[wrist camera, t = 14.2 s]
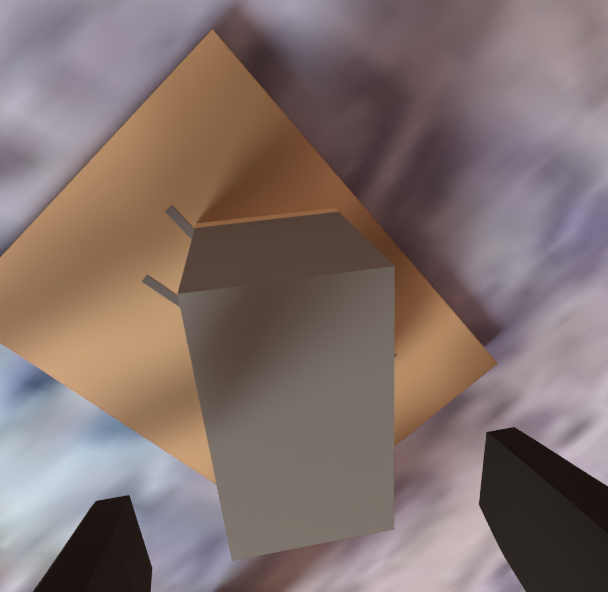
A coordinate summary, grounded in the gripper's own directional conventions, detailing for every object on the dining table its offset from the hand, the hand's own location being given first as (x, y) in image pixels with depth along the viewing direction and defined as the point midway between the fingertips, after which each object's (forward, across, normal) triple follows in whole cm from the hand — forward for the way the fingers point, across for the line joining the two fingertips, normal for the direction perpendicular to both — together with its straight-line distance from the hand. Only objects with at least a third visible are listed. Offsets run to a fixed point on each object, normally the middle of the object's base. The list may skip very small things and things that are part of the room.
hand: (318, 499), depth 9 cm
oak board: (+9, +1, +1) cm, 9 cm away
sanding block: (+8, 0, 0) cm, 8 cm away
